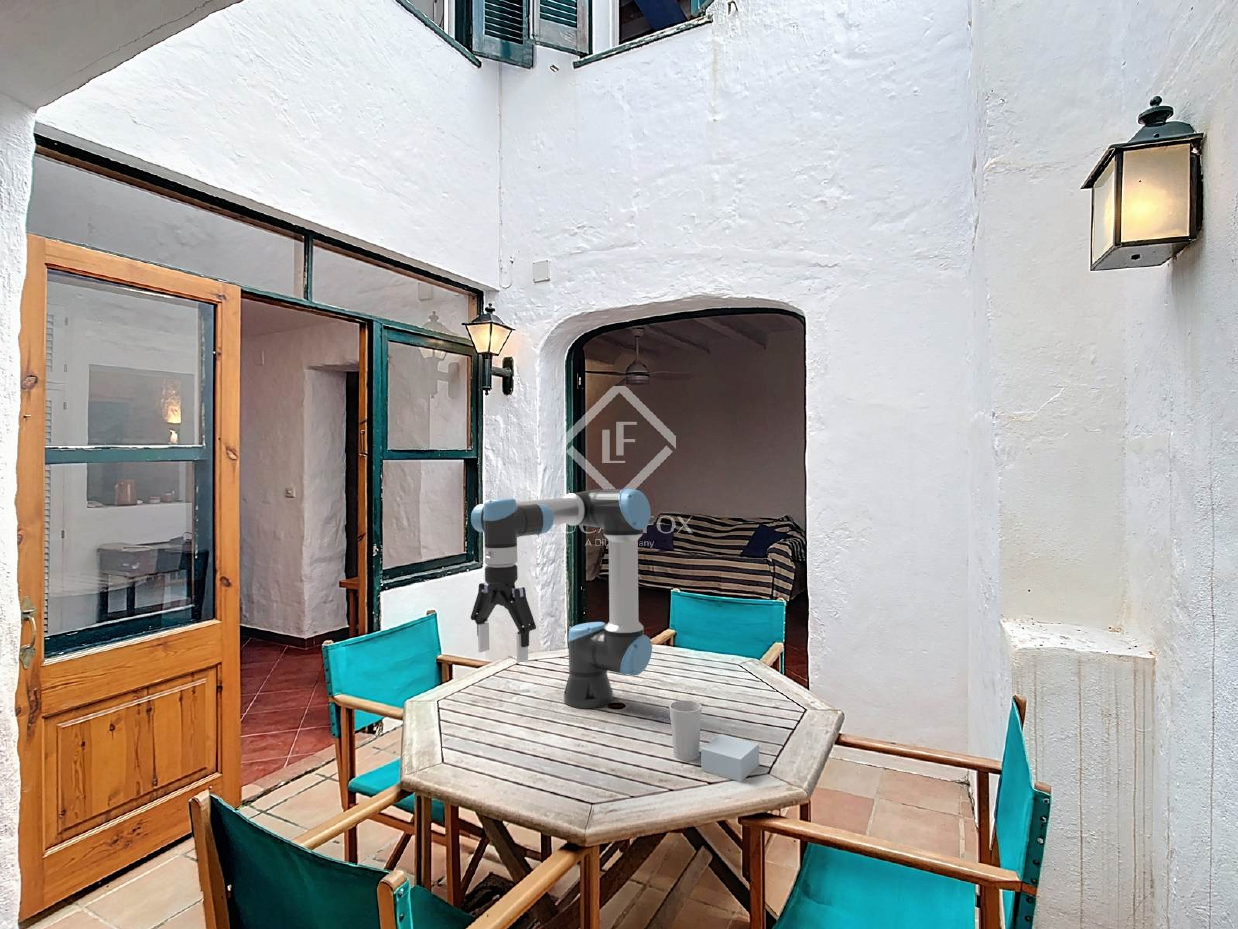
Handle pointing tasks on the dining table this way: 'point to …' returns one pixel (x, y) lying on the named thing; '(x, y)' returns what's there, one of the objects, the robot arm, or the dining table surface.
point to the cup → (685, 729)
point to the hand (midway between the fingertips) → (502, 655)
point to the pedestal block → (730, 757)
